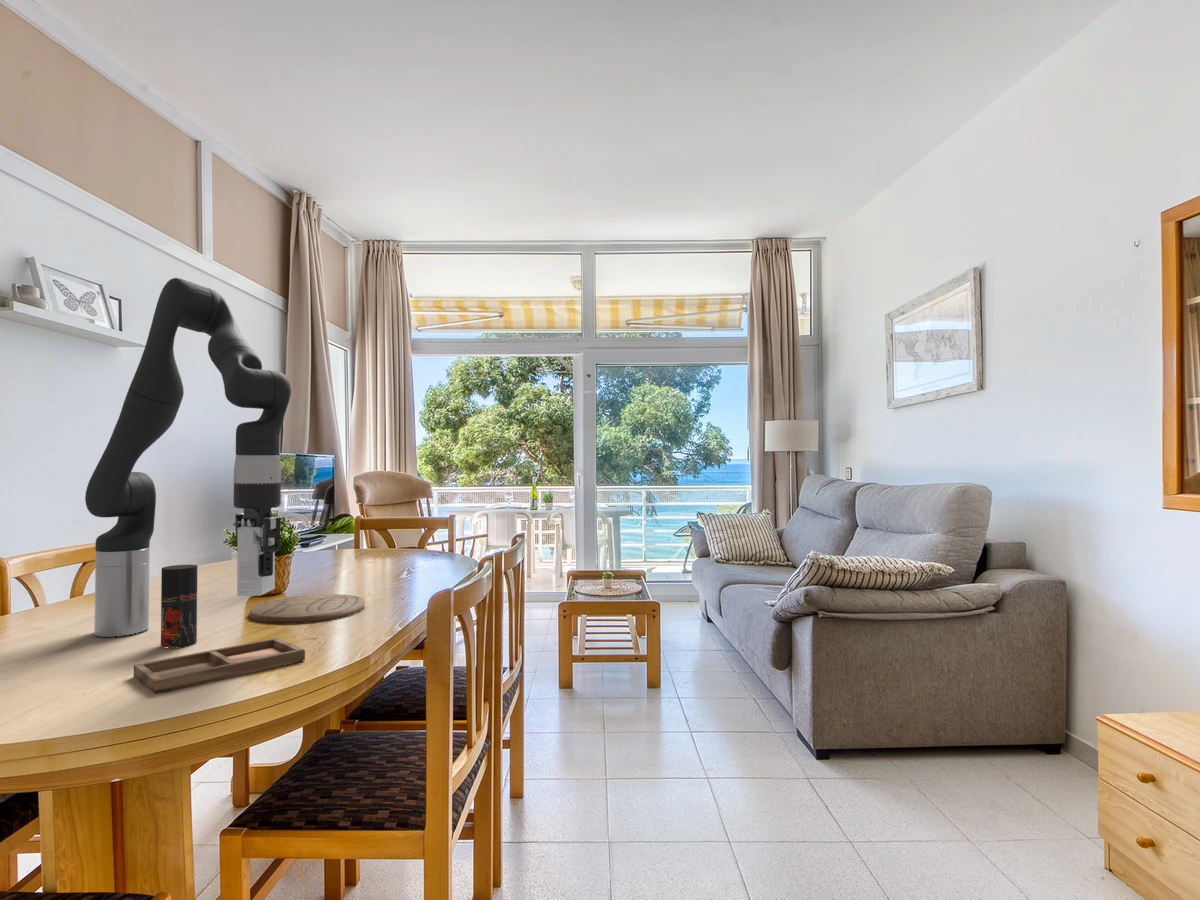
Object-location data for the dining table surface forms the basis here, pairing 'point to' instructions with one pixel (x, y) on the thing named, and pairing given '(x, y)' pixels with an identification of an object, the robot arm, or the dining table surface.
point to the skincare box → (251, 565)
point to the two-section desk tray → (216, 664)
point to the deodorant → (179, 606)
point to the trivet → (307, 608)
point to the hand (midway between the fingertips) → (256, 573)
